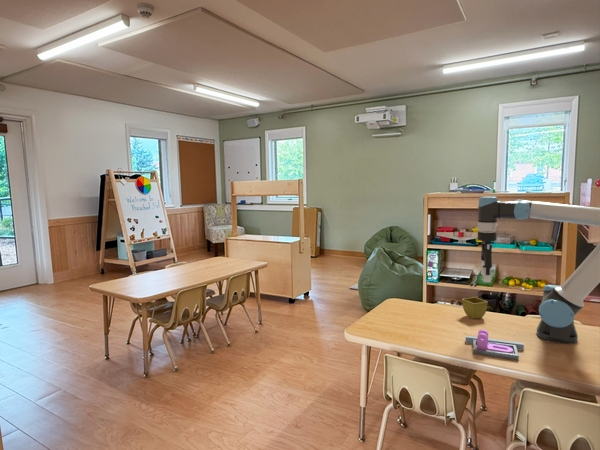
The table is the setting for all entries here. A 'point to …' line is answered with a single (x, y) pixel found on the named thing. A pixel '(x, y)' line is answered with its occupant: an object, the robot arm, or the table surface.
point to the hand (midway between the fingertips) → (485, 278)
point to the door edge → (518, 345)
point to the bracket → (484, 345)
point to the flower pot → (474, 307)
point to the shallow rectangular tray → (496, 354)
